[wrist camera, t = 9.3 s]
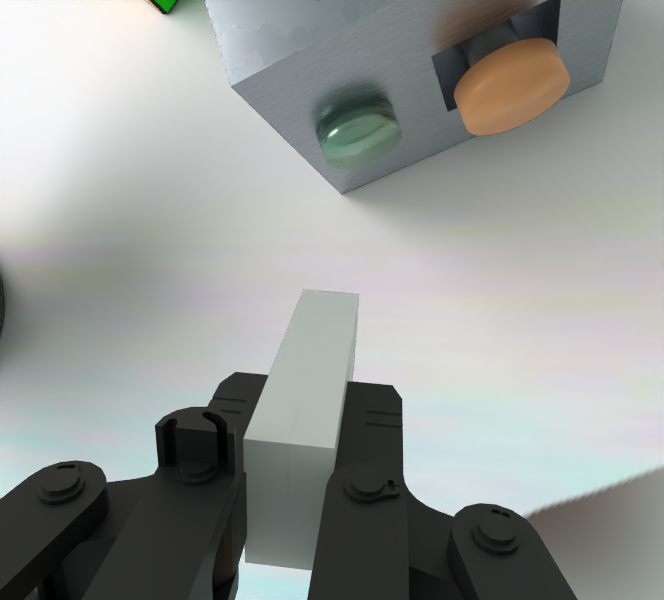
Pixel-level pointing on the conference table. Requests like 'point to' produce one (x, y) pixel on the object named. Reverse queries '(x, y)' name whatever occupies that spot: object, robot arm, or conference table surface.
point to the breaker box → (384, 70)
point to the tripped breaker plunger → (508, 80)
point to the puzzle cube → (162, 5)
